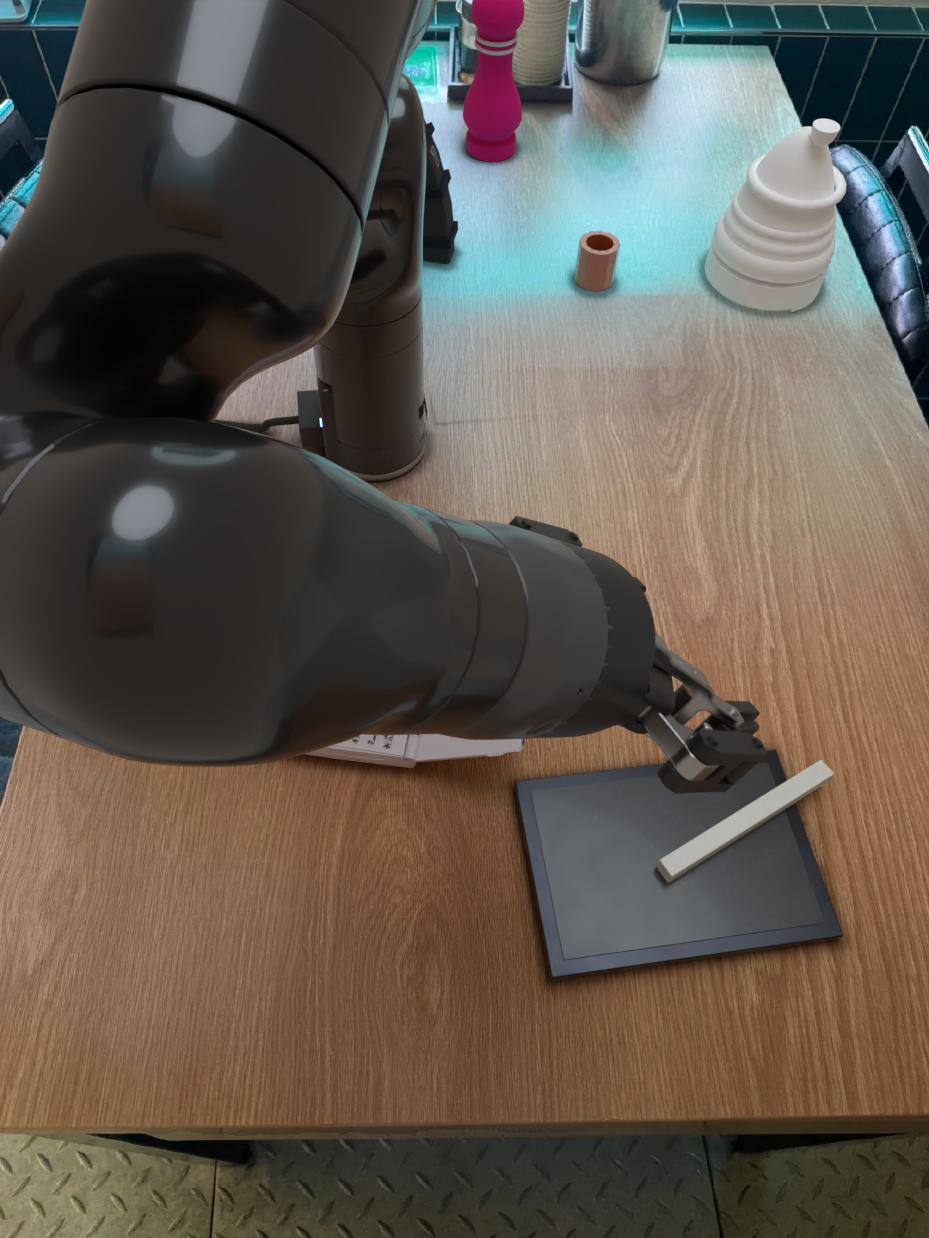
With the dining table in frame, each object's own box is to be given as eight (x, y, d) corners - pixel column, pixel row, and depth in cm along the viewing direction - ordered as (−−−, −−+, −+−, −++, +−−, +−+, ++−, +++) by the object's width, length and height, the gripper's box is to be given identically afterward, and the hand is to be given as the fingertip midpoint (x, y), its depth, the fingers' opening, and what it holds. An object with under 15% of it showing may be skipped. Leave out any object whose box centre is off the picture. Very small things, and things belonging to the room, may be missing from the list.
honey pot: (842, 299, 104) (911, 138, 89) (741, 325, 101) (795, 162, 86) (779, 233, 110) (833, 73, 96) (682, 255, 107) (722, 93, 93)
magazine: (477, 261, 103) (417, 130, 92) (374, 288, 109) (307, 167, 98) (484, 241, 105) (427, 110, 95) (383, 268, 111) (318, 148, 101)
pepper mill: (454, 137, 120) (458, -42, 104) (508, 130, 122) (520, -49, 105) (471, 168, 116) (478, -14, 100) (527, 159, 118) (542, -21, 101)
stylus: (659, 859, 64) (821, 758, 69) (655, 866, 66) (815, 766, 70) (671, 876, 64) (835, 773, 68) (667, 883, 65) (828, 781, 70)
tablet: (550, 981, 62) (551, 977, 61) (513, 786, 70) (514, 780, 69) (838, 940, 64) (844, 935, 63) (772, 754, 72) (776, 748, 71)
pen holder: (578, 296, 103) (584, 255, 99) (570, 272, 105) (576, 232, 101) (616, 293, 103) (623, 253, 99) (607, 270, 106) (614, 229, 101)
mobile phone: (523, 754, 65) (168, 704, 66) (516, 791, 70) (185, 744, 71) (531, 680, 68) (194, 634, 70) (524, 720, 73) (209, 676, 74)
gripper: (715, 713, 30) (843, 714, 43) (467, 432, 36) (645, 508, 49) (558, 860, 32) (724, 818, 45) (354, 573, 39) (551, 610, 52)
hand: (683, 657), depth 47 cm, fingers open, 8 cm apart
